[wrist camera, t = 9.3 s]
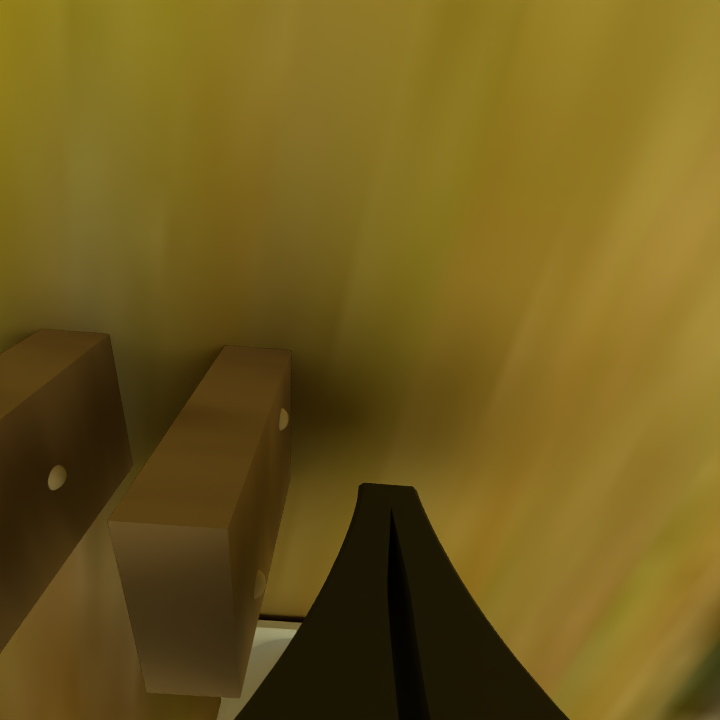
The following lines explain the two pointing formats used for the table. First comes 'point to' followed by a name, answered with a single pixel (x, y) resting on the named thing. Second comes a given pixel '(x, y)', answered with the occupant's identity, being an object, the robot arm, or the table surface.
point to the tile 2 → (54, 457)
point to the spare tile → (207, 526)
